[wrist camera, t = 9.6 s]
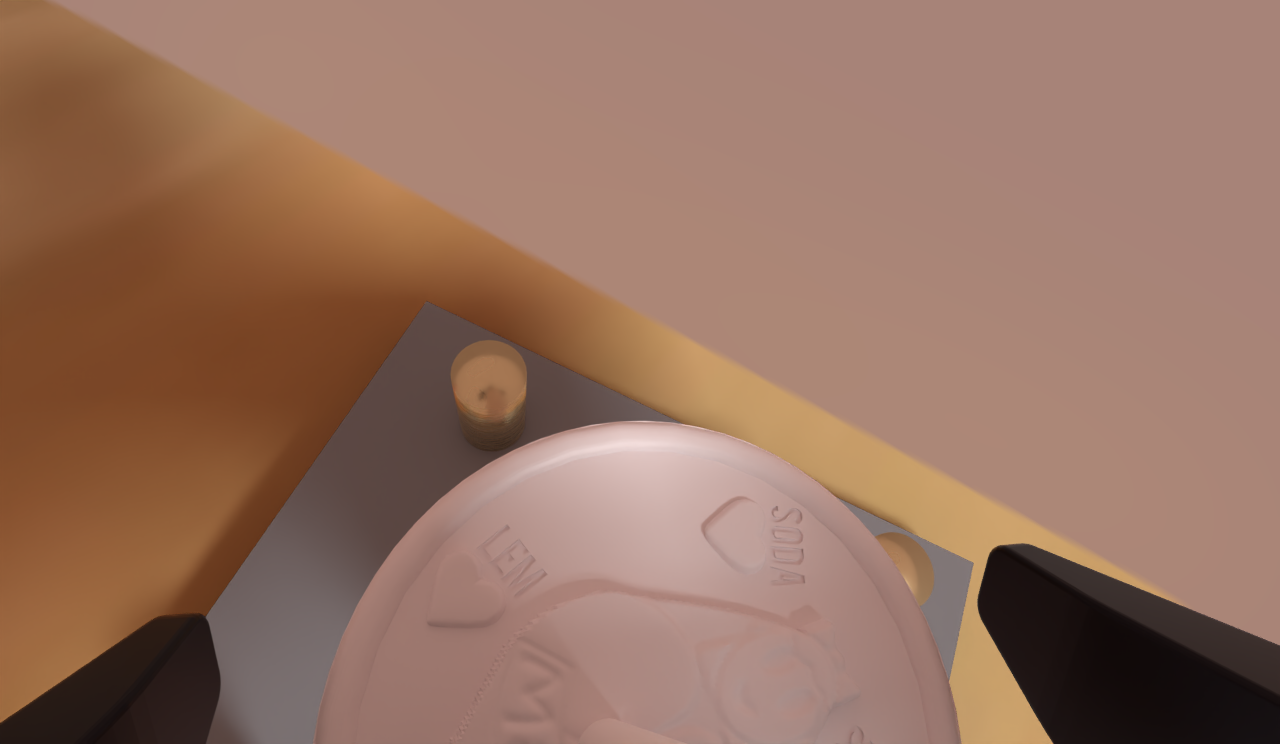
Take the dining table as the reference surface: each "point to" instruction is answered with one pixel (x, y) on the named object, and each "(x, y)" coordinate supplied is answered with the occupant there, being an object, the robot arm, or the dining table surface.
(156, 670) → the robot arm
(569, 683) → the smoothie
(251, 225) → the dining table surface
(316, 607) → the plate
